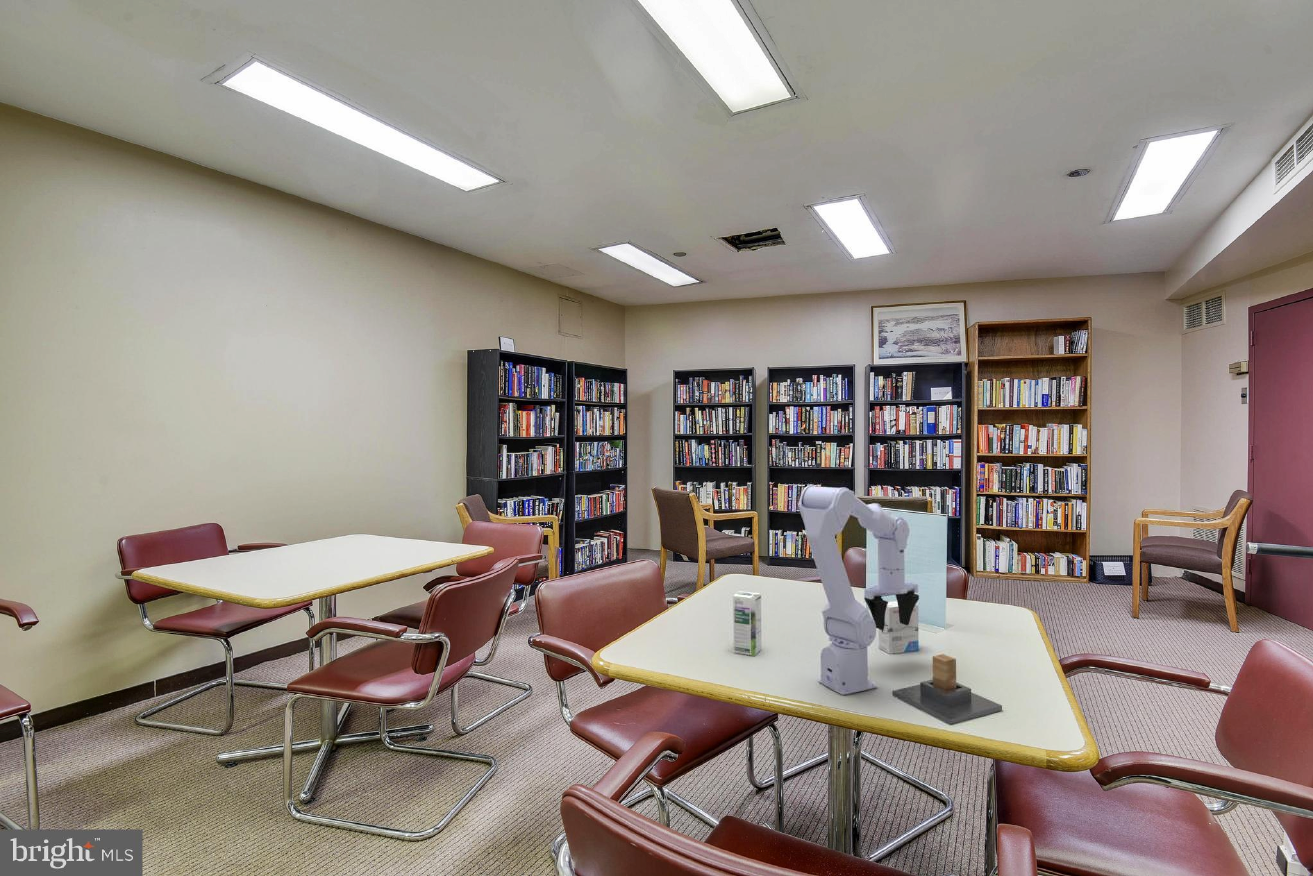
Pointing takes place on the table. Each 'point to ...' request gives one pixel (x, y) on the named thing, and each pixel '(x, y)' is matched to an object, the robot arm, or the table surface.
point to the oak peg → (944, 672)
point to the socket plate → (947, 702)
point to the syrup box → (747, 622)
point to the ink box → (899, 631)
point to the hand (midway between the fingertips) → (892, 626)
